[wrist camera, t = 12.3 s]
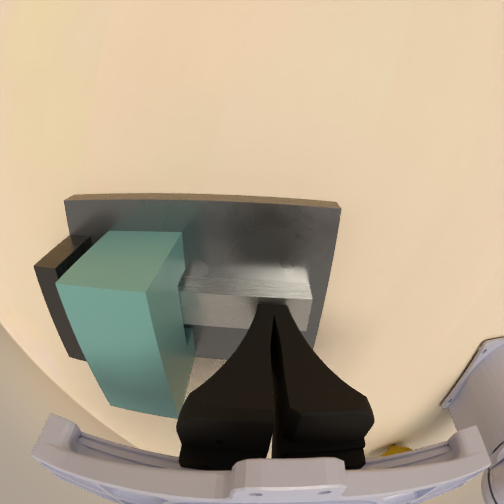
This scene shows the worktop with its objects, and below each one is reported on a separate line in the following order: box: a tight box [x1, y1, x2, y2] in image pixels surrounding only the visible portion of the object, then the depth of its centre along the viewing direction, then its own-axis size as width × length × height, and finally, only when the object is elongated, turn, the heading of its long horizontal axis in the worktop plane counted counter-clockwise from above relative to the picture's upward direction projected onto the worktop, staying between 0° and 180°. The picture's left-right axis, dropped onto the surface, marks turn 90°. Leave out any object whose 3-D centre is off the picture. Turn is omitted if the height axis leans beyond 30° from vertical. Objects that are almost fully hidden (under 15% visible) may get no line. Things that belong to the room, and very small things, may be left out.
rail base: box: [34, 193, 341, 361], centre depth 14 cm, size 14×10×4 cm
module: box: [55, 231, 196, 419], centre depth 13 cm, size 4×8×5 cm, turn 179°
